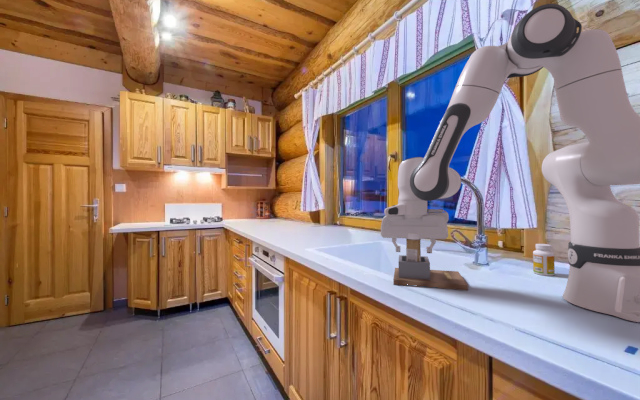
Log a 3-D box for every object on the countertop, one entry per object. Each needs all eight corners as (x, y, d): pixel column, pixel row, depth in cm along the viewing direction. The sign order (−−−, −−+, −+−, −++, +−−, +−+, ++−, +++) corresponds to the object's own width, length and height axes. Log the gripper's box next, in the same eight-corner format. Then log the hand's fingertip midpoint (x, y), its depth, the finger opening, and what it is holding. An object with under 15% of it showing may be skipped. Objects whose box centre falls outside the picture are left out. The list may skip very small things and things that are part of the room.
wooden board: (458, 275, 88) (458, 270, 88) (467, 290, 74) (467, 283, 74) (395, 271, 94) (395, 266, 94) (393, 284, 80) (393, 278, 80)
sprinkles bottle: (424, 275, 84) (424, 232, 84) (414, 277, 82) (414, 234, 82) (412, 271, 88) (412, 231, 88) (402, 273, 86) (402, 232, 85)
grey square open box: (427, 271, 88) (427, 256, 88) (430, 279, 80) (429, 263, 80) (399, 269, 91) (399, 255, 91) (398, 277, 82) (398, 261, 82)
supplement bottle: (552, 273, 89) (552, 243, 89) (556, 277, 84) (555, 246, 84) (532, 270, 92) (531, 242, 92) (534, 274, 87) (534, 245, 87)
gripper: (446, 208, 85) (447, 251, 85) (381, 209, 91) (382, 249, 91) (450, 209, 79) (450, 255, 79) (379, 209, 85) (380, 253, 85)
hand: (413, 252), depth 85 cm, fingers open, 8 cm apart
